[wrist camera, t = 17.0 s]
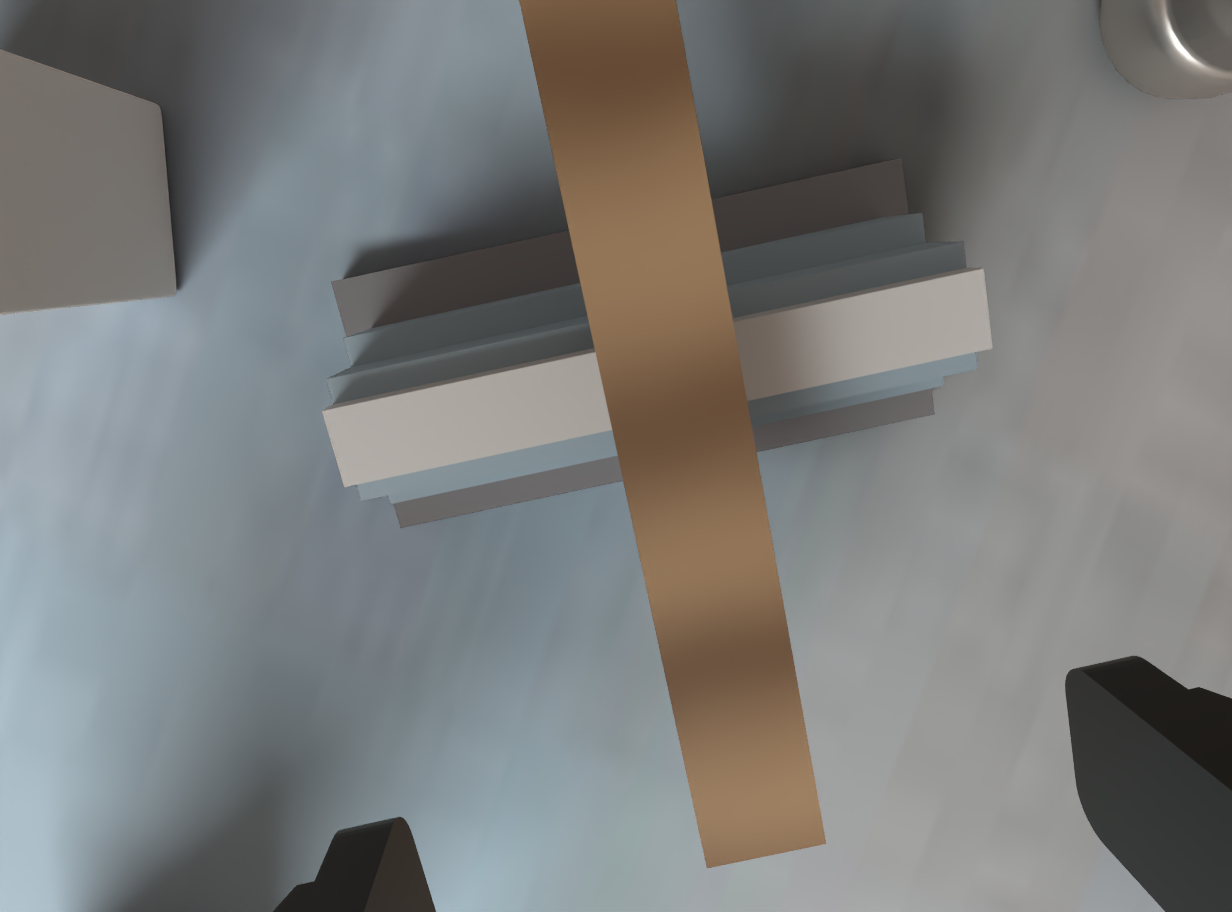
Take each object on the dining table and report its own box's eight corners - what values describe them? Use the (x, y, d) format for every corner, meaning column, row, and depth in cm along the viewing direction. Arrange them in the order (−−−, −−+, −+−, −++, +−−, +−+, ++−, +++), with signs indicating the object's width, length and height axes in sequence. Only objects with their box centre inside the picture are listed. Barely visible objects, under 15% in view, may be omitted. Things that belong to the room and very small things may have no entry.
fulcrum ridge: (407, 517, 37) (346, 608, 27) (341, 280, 35) (250, 291, 25) (920, 407, 37) (1037, 461, 27) (888, 161, 34) (1003, 126, 25)
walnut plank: (513, -42, 23) (489, -139, 18) (630, -68, 23) (644, -174, 18) (682, 744, 29) (706, 868, 23) (777, 724, 29) (826, 843, 23)
